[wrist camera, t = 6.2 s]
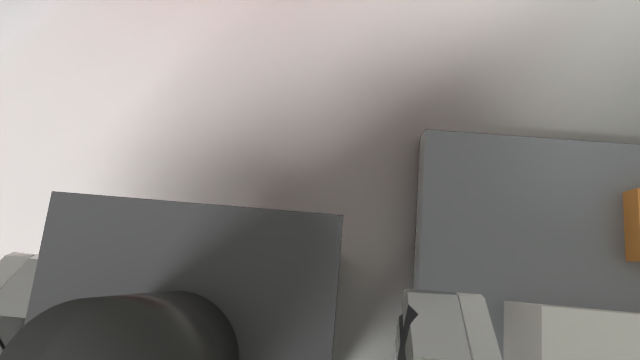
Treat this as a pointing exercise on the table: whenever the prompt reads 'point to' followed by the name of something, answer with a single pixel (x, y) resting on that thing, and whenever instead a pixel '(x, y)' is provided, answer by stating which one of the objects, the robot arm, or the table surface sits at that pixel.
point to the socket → (535, 239)
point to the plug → (180, 282)
